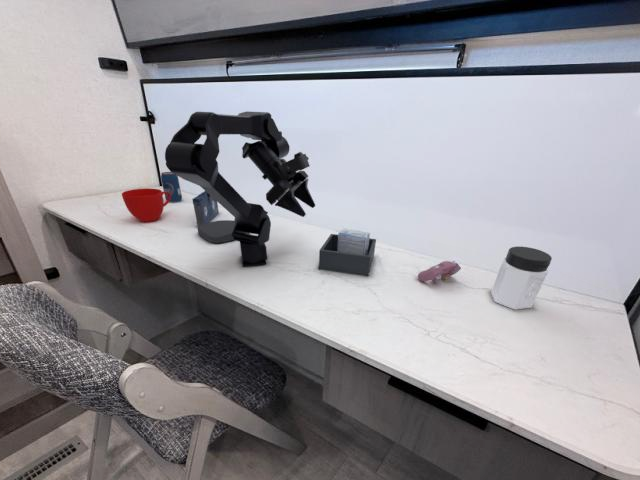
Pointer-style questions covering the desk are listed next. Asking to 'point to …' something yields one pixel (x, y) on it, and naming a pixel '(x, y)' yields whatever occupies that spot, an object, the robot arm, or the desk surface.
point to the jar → (520, 277)
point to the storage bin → (345, 258)
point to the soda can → (171, 186)
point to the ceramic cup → (145, 203)
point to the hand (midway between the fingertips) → (309, 211)
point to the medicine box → (353, 241)
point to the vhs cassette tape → (205, 208)
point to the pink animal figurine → (439, 271)
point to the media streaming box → (217, 231)
